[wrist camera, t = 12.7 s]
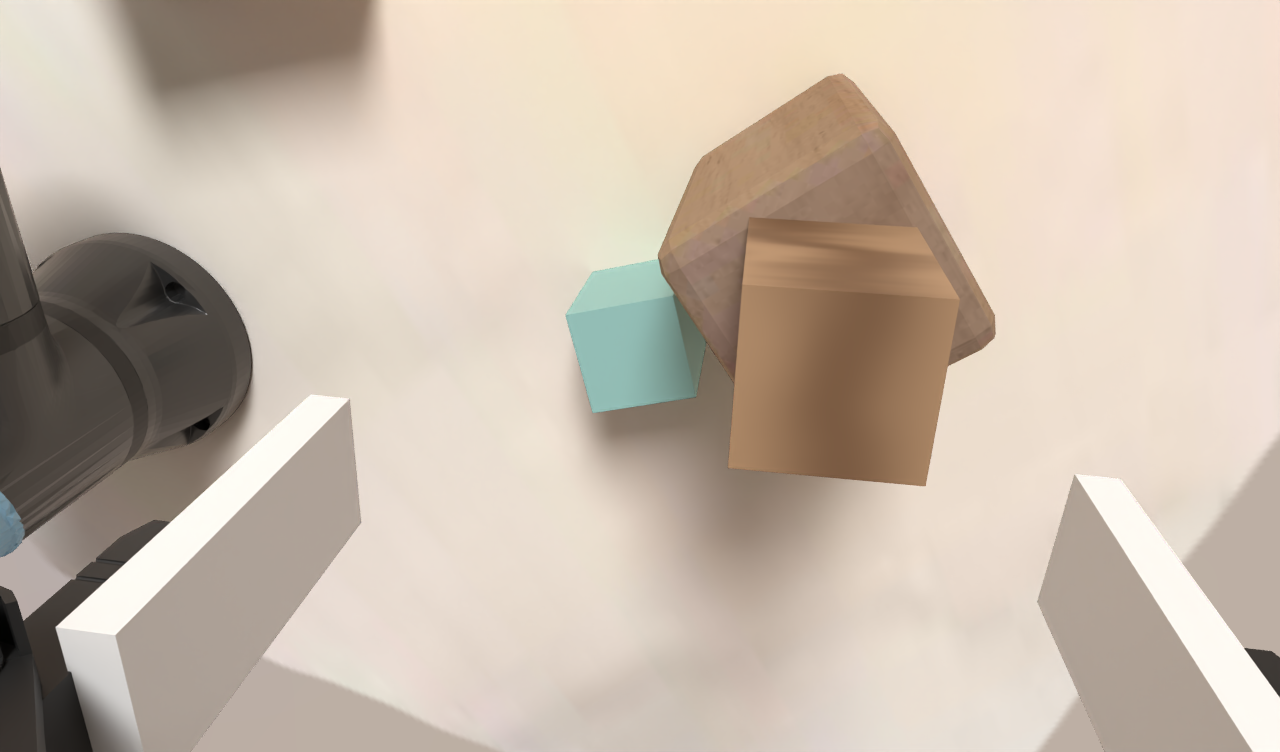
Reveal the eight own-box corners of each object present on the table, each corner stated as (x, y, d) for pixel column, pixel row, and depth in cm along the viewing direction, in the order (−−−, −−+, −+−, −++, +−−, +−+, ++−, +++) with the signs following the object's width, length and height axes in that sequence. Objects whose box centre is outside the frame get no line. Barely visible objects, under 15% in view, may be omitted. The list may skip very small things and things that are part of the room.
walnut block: (737, 367, 35) (727, 467, 28) (749, 217, 32) (742, 284, 25) (893, 379, 34) (925, 486, 27) (917, 227, 32) (960, 299, 24)
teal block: (615, 358, 57) (592, 413, 50) (592, 271, 55) (565, 315, 48) (706, 343, 56) (696, 397, 49) (686, 253, 54) (672, 295, 47)
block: (927, 217, 51) (1012, 345, 33) (776, 302, 54) (777, 461, 36) (843, 64, 48) (885, 112, 30) (689, 163, 52) (643, 259, 34)
